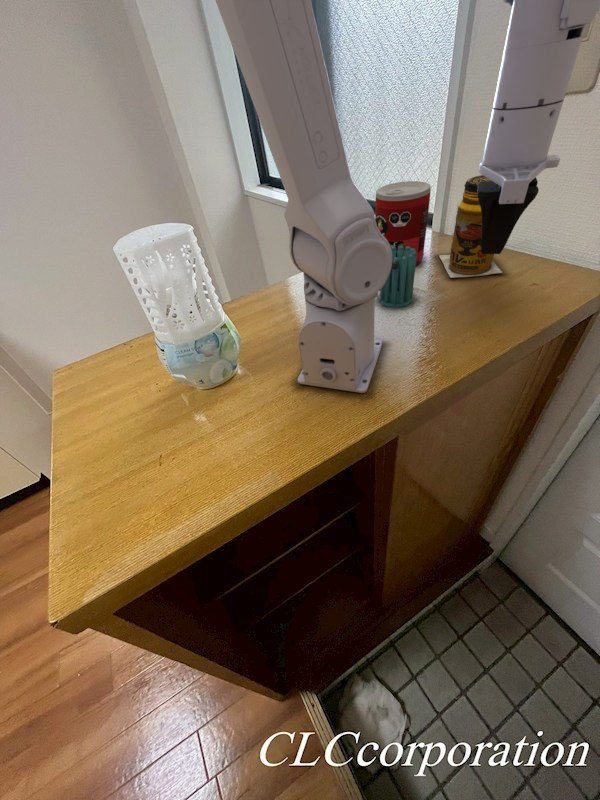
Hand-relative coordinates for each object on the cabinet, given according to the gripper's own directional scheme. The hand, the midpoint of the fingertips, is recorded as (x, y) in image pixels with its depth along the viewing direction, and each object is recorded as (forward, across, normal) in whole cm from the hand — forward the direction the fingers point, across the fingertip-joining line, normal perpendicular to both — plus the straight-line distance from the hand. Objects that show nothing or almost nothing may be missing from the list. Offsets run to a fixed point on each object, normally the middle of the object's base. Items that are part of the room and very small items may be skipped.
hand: (490, 251), depth 41 cm
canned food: (+7, +13, +12) cm, 19 cm away
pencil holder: (+3, 0, +8) cm, 9 cm away
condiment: (+7, +12, +2) cm, 14 cm away
